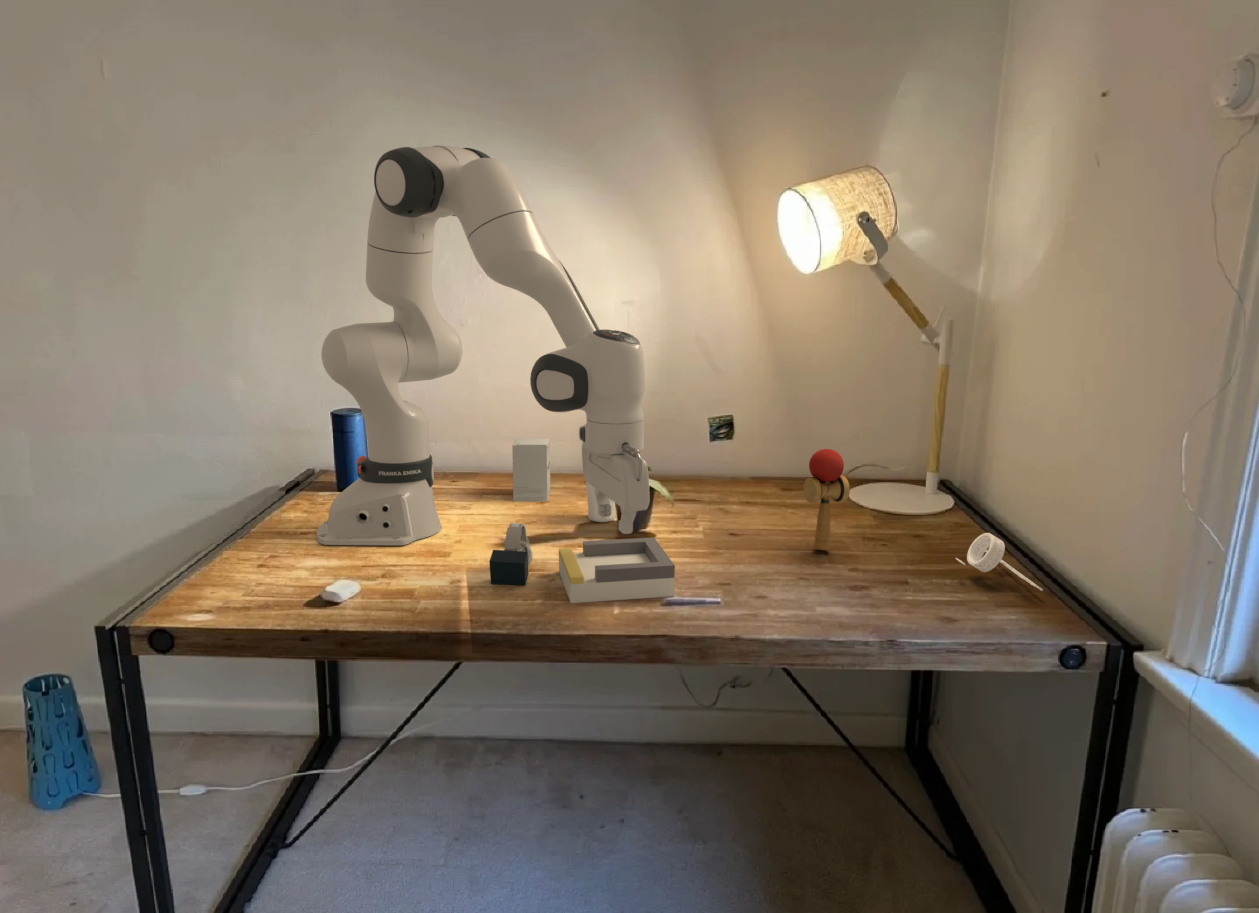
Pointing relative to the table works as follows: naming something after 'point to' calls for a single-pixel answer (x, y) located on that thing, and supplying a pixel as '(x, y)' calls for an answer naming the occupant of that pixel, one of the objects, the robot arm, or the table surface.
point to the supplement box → (531, 469)
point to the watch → (512, 558)
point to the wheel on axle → (989, 555)
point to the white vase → (593, 506)
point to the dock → (612, 587)
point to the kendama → (825, 490)
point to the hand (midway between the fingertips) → (614, 523)
